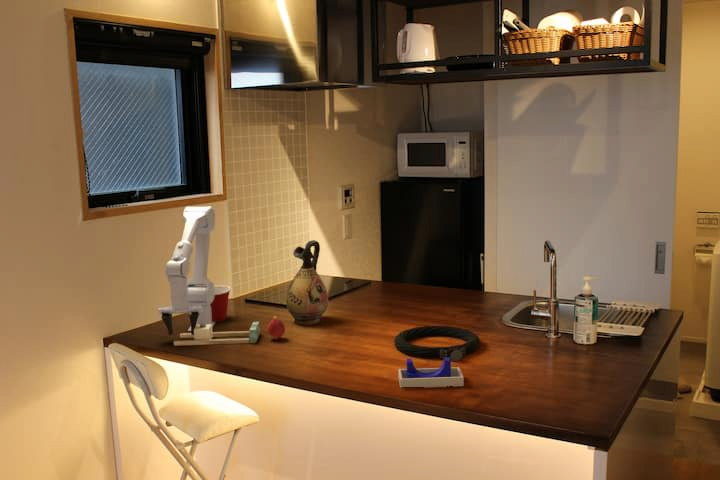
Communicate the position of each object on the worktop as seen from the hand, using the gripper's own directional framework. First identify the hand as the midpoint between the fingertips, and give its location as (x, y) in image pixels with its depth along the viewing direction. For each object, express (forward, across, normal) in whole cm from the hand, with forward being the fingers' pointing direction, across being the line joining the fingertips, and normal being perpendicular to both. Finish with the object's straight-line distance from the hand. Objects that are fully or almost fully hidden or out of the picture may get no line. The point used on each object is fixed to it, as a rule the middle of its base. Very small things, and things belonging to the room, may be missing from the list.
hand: (182, 334), depth 243 cm
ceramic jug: (+3, +42, +20) cm, 47 cm away
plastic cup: (+3, +7, +26) cm, 27 cm away
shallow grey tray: (+2, +80, -47) cm, 92 cm away
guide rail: (+2, +12, 0) cm, 12 cm away
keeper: (+2, +7, 0) cm, 8 cm away
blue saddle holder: (+3, +79, -45) cm, 91 cm away
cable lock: (+3, +85, -16) cm, 87 cm away
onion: (+3, +32, -2) cm, 33 cm away
